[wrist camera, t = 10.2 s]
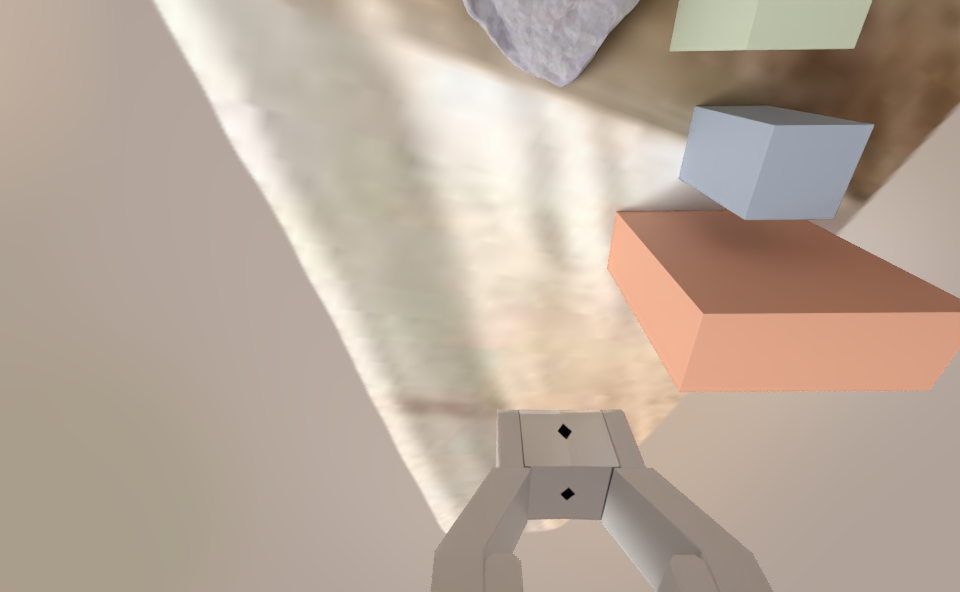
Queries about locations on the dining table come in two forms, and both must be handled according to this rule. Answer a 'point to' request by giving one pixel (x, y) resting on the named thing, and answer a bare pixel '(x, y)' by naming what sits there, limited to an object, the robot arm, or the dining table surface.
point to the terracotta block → (777, 306)
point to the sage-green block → (768, 24)
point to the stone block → (549, 32)
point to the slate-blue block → (772, 160)
